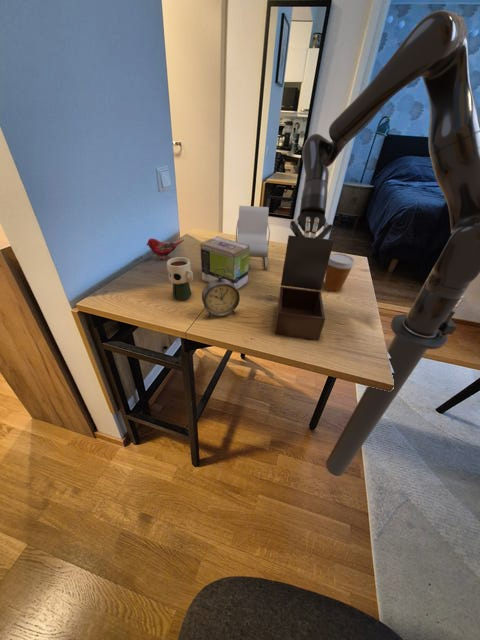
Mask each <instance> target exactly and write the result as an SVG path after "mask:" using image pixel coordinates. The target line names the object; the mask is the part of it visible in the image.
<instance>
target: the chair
mask: <svg viewBox="0 0 480 640" xmlns="http://www.w3.org/2000/svg"><path fill="white" fill-rule="evenodd" d="M269 208H270V207H268V206H254V205H253V206H252V205H239V206H238V219H237V223H236V229H235V242H239V243H243V244H246V245H249V246H250V251H249V258H250V257H251V258H264V268H265V270H267V269H268V260H269V259H268V257H269V247H270V238H271V236H270V235H271V229H270V224H269Z"/></svg>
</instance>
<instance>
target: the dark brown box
mask: <svg viewBox="0 0 480 640" xmlns="http://www.w3.org/2000/svg"><path fill="white" fill-rule="evenodd" d="M321 291H322V290H312V289H304V288H296V287H288V286H280V288H279V293H278V300H277V304H276V305H277V306H276V317H275V330H274V335H277V336H285V337H291V338H299V339H305V340H313V341H319V340H320V337H321V335H322V331H323V328H324V325H325V321H326V315H325V308H324V302H323V296H322V292H321Z"/></svg>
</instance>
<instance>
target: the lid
mask: <svg viewBox="0 0 480 640" xmlns="http://www.w3.org/2000/svg"><path fill="white" fill-rule="evenodd" d="M334 242H335V240H334V239H331V238H323V239H321V238H311V237H310V236H309V237H301V236H295V235H291V234H288V238H287V243H286V248H285V255H284V263H283V268H282V275H281V280H280V287H289V288H297V289H305V290H314V291H322V289H323V287H324V283H325V277H326V270H327V266H328V262H329V258H330V255H331V254H332V250H333V246H334Z"/></svg>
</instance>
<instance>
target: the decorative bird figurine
mask: <svg viewBox="0 0 480 640" xmlns="http://www.w3.org/2000/svg"><path fill="white" fill-rule="evenodd" d="M184 241H185V239H182V240H180V241H177V242H171V241H159V240H158V239H156V238H153V237H152V238H149V239H148V240H147V243H146V246H148V247H149V249H150V250H151V251H152V253H153V254H155V255H156V256H158V257H161V258H159V259H158V261H160V260H161V261H163V260H165V259H169V254H171V253H172V252H174V250H175V249H176V248H177V247H178V245H180V244H182V243H183V242H184Z"/></svg>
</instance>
